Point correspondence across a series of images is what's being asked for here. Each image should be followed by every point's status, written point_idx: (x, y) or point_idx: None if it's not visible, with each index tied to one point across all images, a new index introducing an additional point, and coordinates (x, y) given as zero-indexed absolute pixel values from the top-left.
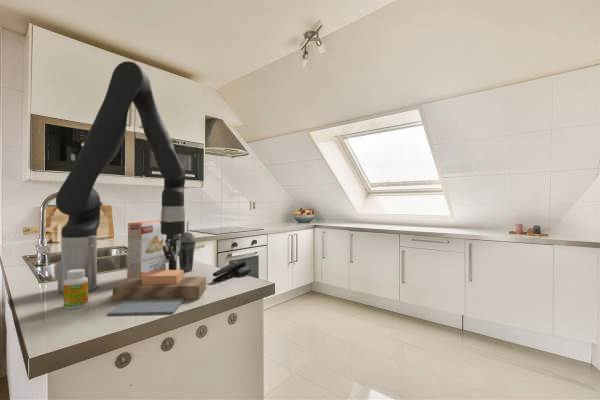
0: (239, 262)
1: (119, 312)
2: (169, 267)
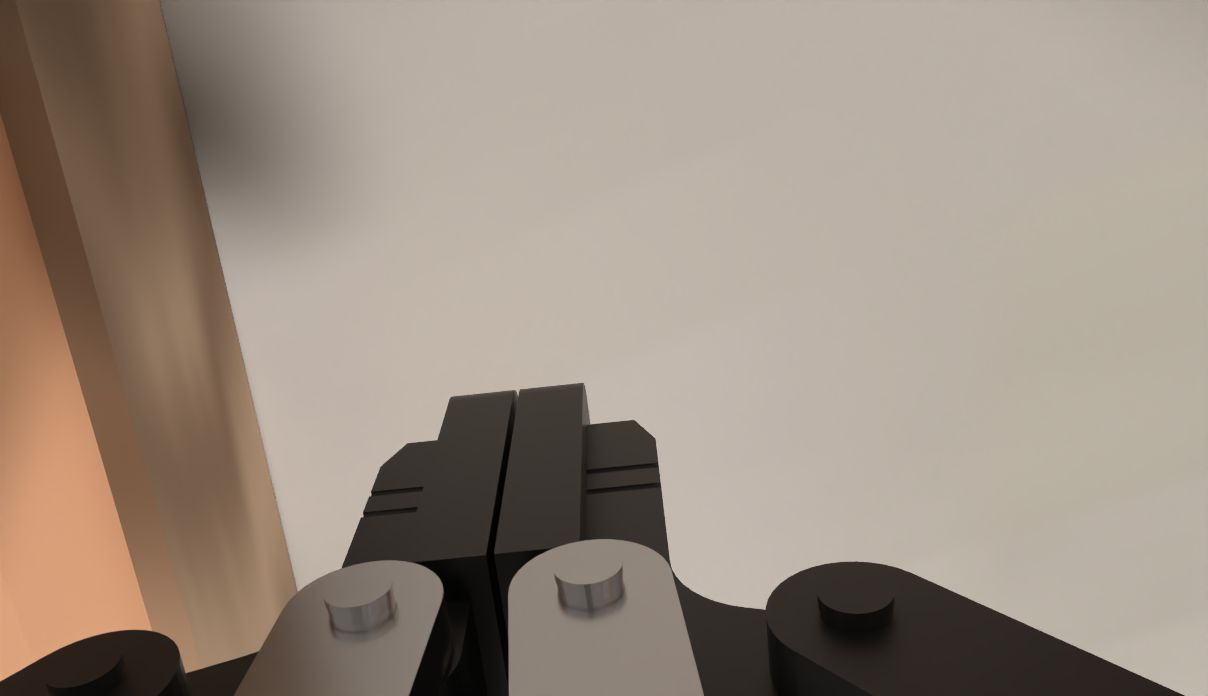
0: None
1: None
2: (377, 489)
